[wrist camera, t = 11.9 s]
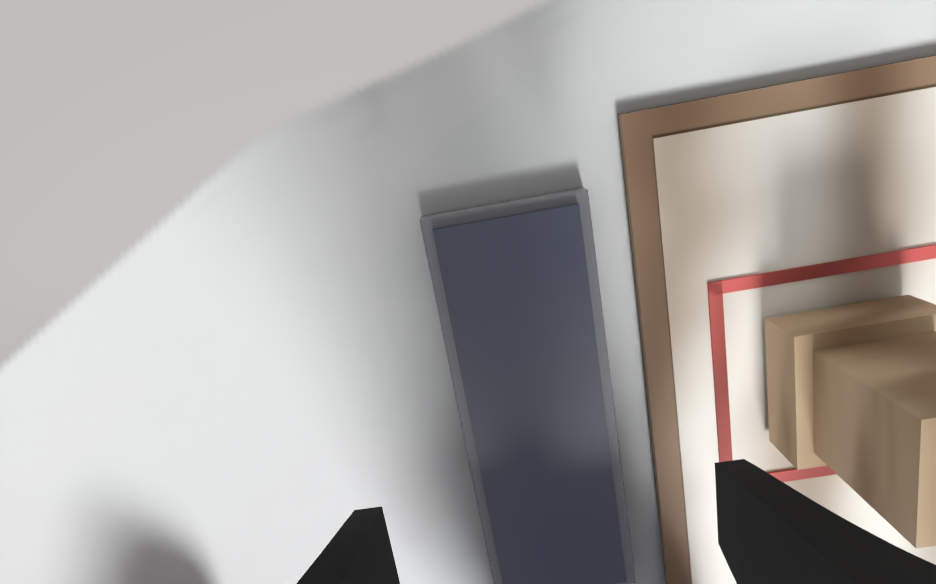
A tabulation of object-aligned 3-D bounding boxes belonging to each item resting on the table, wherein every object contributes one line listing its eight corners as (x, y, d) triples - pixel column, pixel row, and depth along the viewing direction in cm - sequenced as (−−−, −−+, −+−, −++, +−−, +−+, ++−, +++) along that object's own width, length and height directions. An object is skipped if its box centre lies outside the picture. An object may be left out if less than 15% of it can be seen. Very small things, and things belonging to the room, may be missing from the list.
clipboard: (1033, 37, 19) (1050, 34, 18) (987, 570, 25) (1000, 580, 24) (617, 114, 20) (622, 113, 19) (669, 612, 26) (673, 623, 25)
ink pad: (583, 187, 20) (589, 190, 19) (630, 568, 25) (637, 588, 24) (421, 216, 21) (418, 221, 20) (497, 587, 25) (498, 607, 24)
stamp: (902, 292, 21) (1112, 369, 14) (898, 416, 22) (1087, 542, 15) (760, 315, 21) (898, 402, 14) (765, 436, 22) (893, 569, 16)
